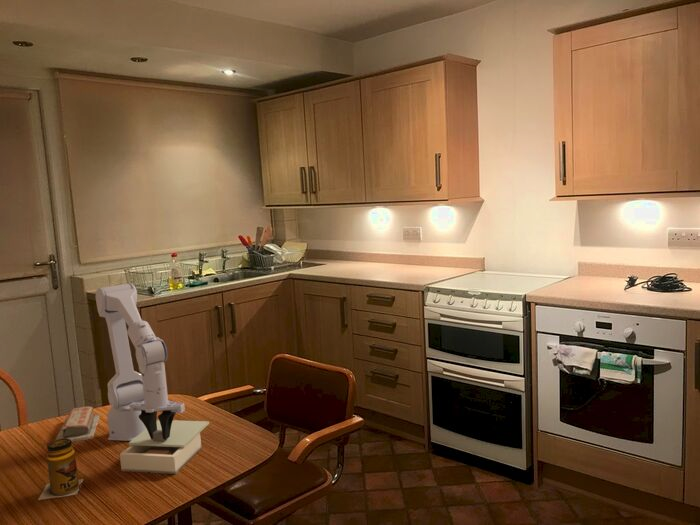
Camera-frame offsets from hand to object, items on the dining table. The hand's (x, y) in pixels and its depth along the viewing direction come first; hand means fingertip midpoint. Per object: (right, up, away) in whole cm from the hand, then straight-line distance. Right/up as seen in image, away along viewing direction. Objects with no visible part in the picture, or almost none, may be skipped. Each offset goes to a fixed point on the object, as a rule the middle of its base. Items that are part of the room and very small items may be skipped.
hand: (160, 437), depth 150 cm
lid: (+1, 0, +5) cm, 5 cm away
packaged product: (-32, -5, +23) cm, 40 cm away
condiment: (-20, -9, -12) cm, 25 cm away
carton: (0, -6, +1) cm, 6 cm away
